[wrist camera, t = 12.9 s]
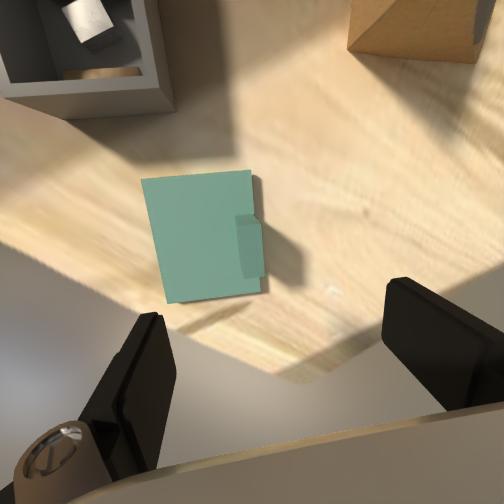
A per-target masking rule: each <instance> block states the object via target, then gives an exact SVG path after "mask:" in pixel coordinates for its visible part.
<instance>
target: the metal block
mask: <svg viewBox="0 0 504 504" xmlns="http://www.w3.org/2000/svg"><path fill="white" fill-rule="evenodd" d="M62 11H63V13H64V14H65V16H66V18H67V19H68V21H69V23H70V25H71V26H72V28H73V30H74V31H75V33H76V35H77V37H78V38H79V40H80V42H81V43H82V44H83V45H84V46H85V47H86V48H87V49H88V50H89V51H90V52H91V53H92V54H93V55H94V54H96V53H98V52H99V51H101V50H103V49H105V48H107V47H109V46H111V45H113V44H115V43H117V42H119V41H121V40H122V39H123V38H122V36H121V35H120V33H119V31H118V29H117V27H116V25H115V23H114V21H113V19H112V17H111V16H110V14H109V12H108V10H107V8H106V7H105V5H104V4H103V2H102V1H101V0H77V1H75V2H73V3H71V4H69V5H67V6H66V7H64V8H62Z"/></svg>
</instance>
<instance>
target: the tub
mask: <svg viewBox="0 0 504 504" xmlns="http://www.w3.org/2000/svg"><path fill="white" fill-rule="evenodd" d="M75 1H77V0H65V1H50V0H0V92H1V94H2V97H3V98H4V99H7V100H10V101H13V102H15V103H18V104H21V105H24V106H27V107H29V108H32V109H35V110H38V111H40V112H43V113H46V114H49V115H51V116H54V117H57V118H60V119H62V120H75V119H89V118H103V117H116V116H130V115H143V114H157V113H170V112H176V108H175V102H174V96H173V90H172V84H171V78H170V72H169V66H168V60H167V54H166V49H165V43H164V37H163V31H162V25H161V19H160V13H159V7H158V1H157V0H101V1H102V2H103V4H104V5H105V7H106V8H107V10H108V12H109V14H110V16H111V17H112V19H113V21H114V23H115V25H116V27H117V29H118V31H119V33H120V35H121V36H122V38H123V39H122V40H121V41H119V42H117V43H115V44H113V45H111V46H109V47H107V48H105V49H103V50H101V51H99V52H98V53H96V54H94V55H93V54H92V53H91V52H90V51H89V50H88V49H87V48H86V47H85V46H84V45H83V44H82V43H81V42H80V40H79V38H78V37H77V35H76V33H75V31H74V30H73V28H72V26H71V25H70V23H69V21H68V19H67V18H66V16H65V14H64V13H63V11H62V8H64V7H66V6H67V5H69V4H71V3H73V2H75ZM120 67H139V68H140V70H141V72H142V74H143V76H130V77H114V78H97V79H80V80H64V81H63V71H67V70H85V69H102V68H120Z"/></svg>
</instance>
